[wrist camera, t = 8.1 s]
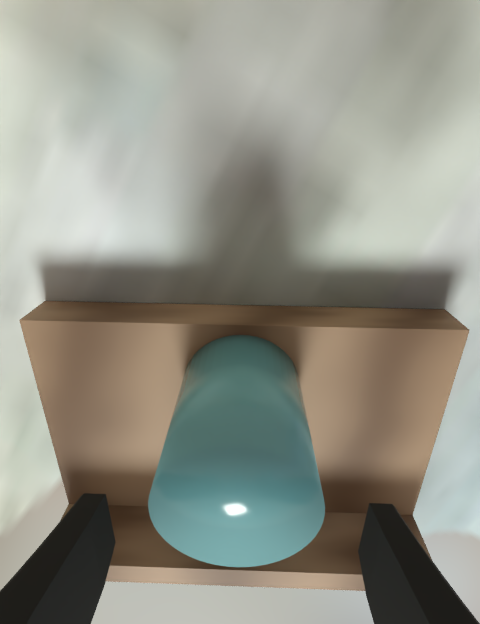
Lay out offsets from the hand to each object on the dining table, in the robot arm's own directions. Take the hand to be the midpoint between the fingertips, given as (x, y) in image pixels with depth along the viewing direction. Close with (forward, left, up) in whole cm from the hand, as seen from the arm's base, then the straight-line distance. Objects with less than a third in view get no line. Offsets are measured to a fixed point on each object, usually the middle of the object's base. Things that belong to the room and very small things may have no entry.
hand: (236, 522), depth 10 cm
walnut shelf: (0, +3, -8) cm, 9 cm away
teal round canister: (0, 0, -6) cm, 6 cm away
